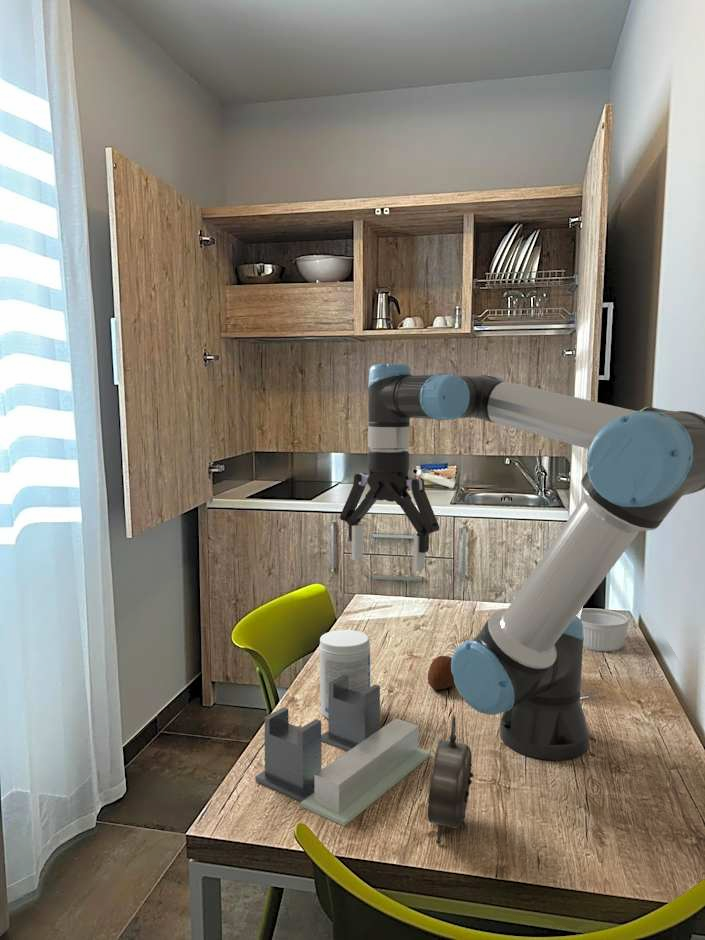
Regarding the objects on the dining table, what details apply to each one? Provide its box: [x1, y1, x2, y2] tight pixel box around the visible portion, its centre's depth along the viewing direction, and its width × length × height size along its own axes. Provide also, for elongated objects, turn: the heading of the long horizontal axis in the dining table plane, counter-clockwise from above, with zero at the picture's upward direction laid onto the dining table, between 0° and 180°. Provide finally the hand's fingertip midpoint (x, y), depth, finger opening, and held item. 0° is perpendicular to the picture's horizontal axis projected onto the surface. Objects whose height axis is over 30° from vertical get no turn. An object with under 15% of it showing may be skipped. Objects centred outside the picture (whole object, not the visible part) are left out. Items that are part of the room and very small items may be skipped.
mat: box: [300, 747, 431, 827], centre depth 111 cm, size 8×24×1 cm, turn 144°
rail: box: [314, 718, 420, 814], centre depth 111 cm, size 4×22×4 cm, turn 144°
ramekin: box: [581, 607, 629, 652], centre depth 170 cm, size 13×13×7 cm
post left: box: [254, 706, 322, 803], centre depth 109 cm, size 10×6×10 cm, turn 54°
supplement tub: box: [318, 629, 371, 719], centre depth 133 cm, size 10×10×15 cm
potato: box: [427, 655, 455, 690], centre depth 146 cm, size 6×12×6 cm, turn 161°
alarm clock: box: [427, 714, 474, 845], centre depth 98 cm, size 11×5×16 cm, turn 164°
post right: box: [321, 675, 381, 752], centre depth 122 cm, size 10×6×10 cm, turn 54°
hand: (387, 564), depth 131 cm, fingers open, 13 cm apart
